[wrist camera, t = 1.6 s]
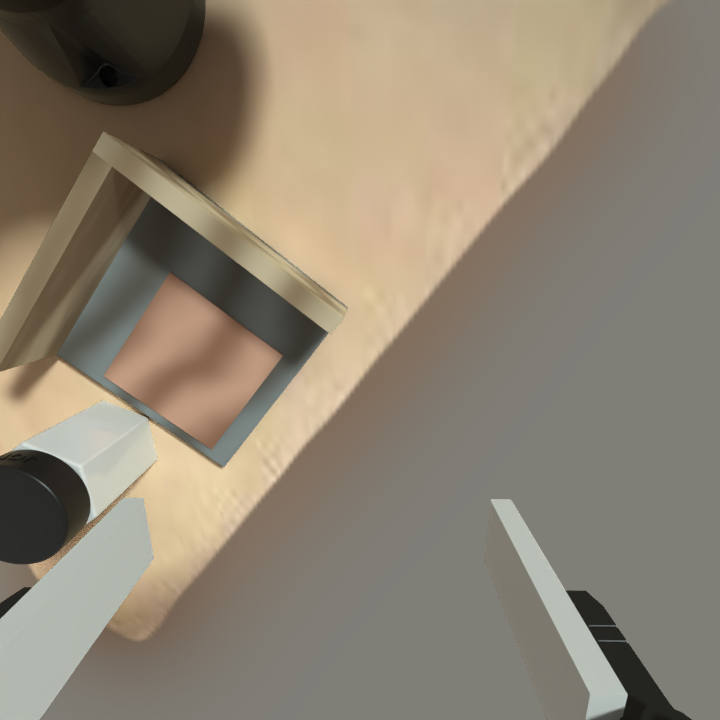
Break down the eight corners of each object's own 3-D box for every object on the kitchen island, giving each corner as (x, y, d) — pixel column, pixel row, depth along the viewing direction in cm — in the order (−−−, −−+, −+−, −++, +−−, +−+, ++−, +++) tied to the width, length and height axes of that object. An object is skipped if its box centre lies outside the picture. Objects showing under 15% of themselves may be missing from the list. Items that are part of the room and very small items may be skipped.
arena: (50, 342, 36) (-23, 361, 29) (158, 158, 32) (103, 131, 25) (227, 462, 39) (198, 504, 32) (347, 307, 35) (343, 318, 28)
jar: (119, 384, 37) (7, 440, 25) (176, 447, 39) (94, 527, 27) (56, 433, 39) (-79, 507, 27) (113, 492, 40) (9, 586, 28)
